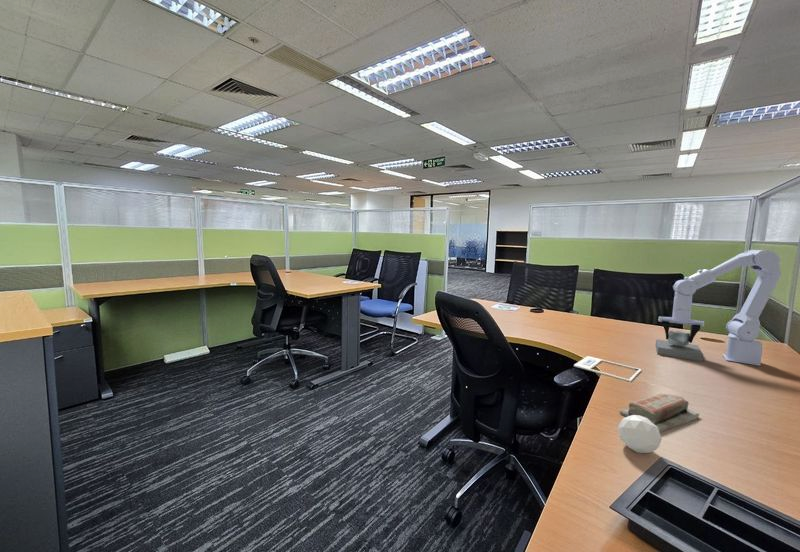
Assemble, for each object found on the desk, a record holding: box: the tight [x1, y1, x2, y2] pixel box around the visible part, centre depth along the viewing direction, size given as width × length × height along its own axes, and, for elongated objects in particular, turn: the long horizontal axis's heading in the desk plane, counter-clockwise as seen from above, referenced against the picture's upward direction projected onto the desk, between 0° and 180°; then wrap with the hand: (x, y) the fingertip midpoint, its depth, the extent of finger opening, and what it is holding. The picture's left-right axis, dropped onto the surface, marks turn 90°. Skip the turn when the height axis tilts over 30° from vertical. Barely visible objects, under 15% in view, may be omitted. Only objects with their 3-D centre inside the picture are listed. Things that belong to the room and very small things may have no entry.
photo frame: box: [573, 355, 643, 383], centre depth 121 cm, size 15×1×18 cm
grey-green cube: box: [667, 329, 690, 347], centre depth 138 cm, size 5×5×5 cm
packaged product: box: [619, 393, 700, 433], centre depth 89 cm, size 18×5×10 cm
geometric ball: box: [617, 415, 662, 454], centre depth 74 cm, size 8×8×8 cm
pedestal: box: [655, 338, 704, 362], centre depth 139 cm, size 14×14×3 cm
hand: (678, 340), depth 138 cm, fingers closed on grey-green cube, 7 cm apart
